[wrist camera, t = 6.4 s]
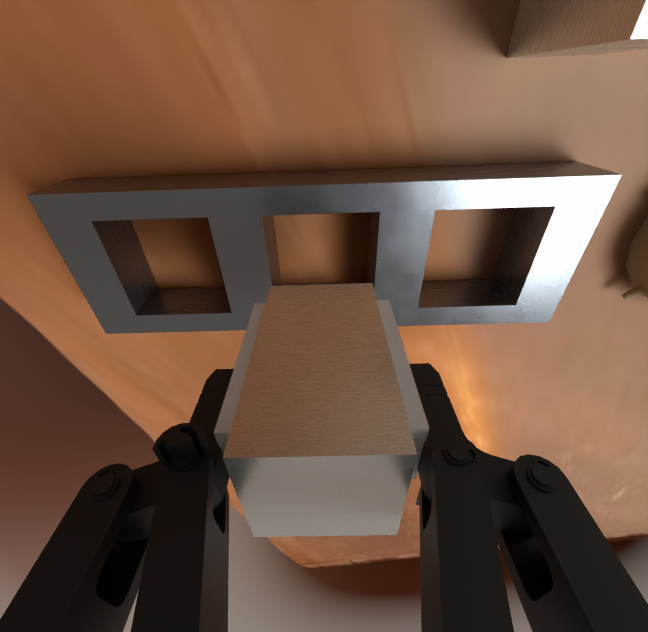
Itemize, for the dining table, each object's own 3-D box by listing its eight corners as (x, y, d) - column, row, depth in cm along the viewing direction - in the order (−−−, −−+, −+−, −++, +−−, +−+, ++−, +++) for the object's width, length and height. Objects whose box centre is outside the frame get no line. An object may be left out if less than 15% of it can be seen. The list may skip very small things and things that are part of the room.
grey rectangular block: (270, 285, 14) (222, 458, 7) (372, 282, 14) (417, 454, 7) (281, 360, 16) (253, 537, 10) (367, 358, 16) (397, 534, 10)
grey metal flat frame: (69, 178, 19) (26, 194, 17) (577, 161, 19) (621, 174, 16) (130, 305, 25) (105, 333, 22) (522, 294, 24) (548, 322, 22)
